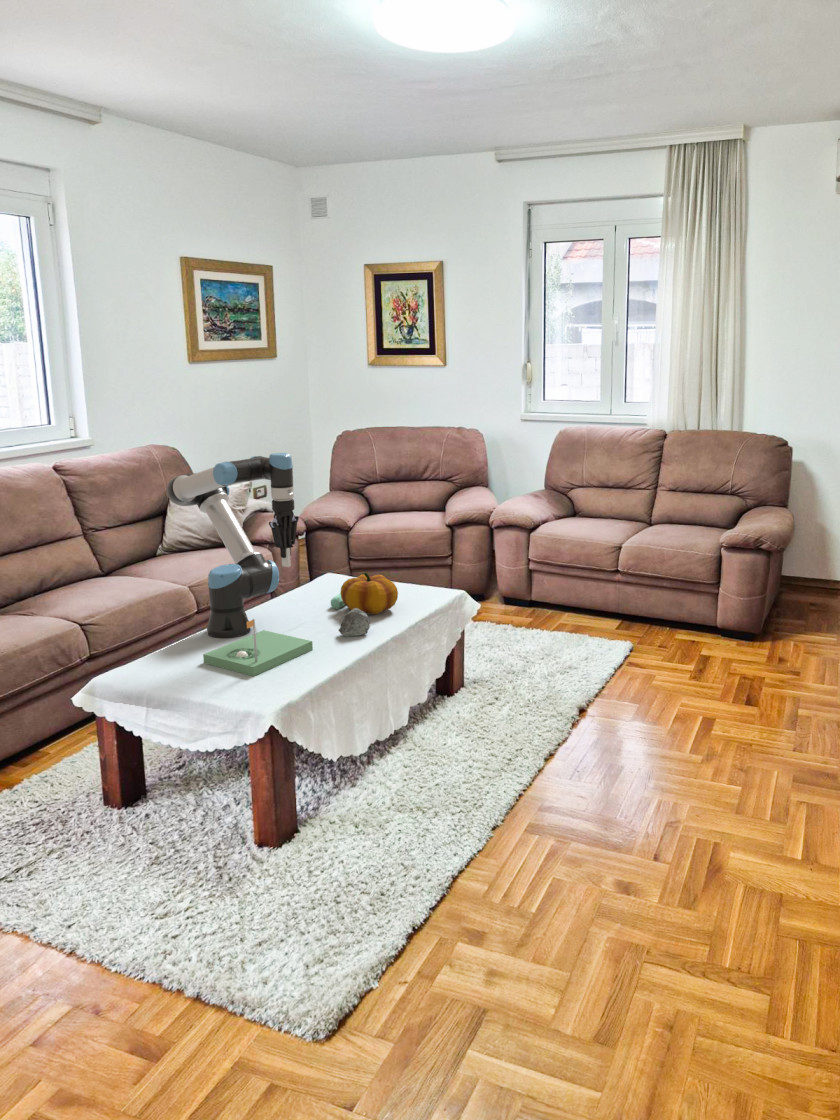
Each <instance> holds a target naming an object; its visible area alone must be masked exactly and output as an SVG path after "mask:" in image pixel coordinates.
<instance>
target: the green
mask: <svg viewBox="0 0 840 1120" xmlns="http://www.w3.org/2000/svg"><path fill="white" fill-rule="evenodd" d="M248 628H250V629H251V628H253V629H252V633H253V634H251V635H248V636H245V637H243V638H241V639H237V640H236V641H235V640H234V641H233V642H231V643H227V644H225V645H223V646H221V647H218V648H216V649H214V650H213V649H212V650H210V651H208V652H205V653H203V654H202V655H203V656H202V658H203V664H207V665H209V666H214V667H218V668H222V669H225V670H229V671H233V672H238V673H240V674H244V675H247V676H253V677H255V676H257V675H259V674H262V673H264V672H266V671H269V670H271V669H273V668H275V667H277V666H279V665H283V664H284V663H286V662H289V661H291V660H293V659H295V658H298V657H300V656H302V655H304V654H306V653H308V652H311V651H313V648H314V647H313V640H309V639H305V638H301V637H300V638H299V637H296V636H292V635H287V634H281V633H278V632H273V631H269V630H265V629H263V630H260V631H258V632H256V619H255V618H252V619H251V620H248V622H247V629H248ZM239 651H245V652H246V653H247V654H248V656H246V657H237V656H236V654H237V653H238V652H239Z"/></svg>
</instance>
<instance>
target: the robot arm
mask: <svg viewBox="0 0 840 1120" xmlns="http://www.w3.org/2000/svg"><path fill="white" fill-rule="evenodd" d="M293 467H294V464H293V460H292V455H291V453H288V452H275V453H274V452H273V453H271V454H269V457H265V456H261V455H257V456H256V455H254V456H251V457H250V458H245V459H241V460H240V459H239V460H230V461H223V462H219V463H216V464H215V466H213V467H209V468H207V469H205V470H201V471H199V472H194V473H187V474H181V475H180V474H179V475H176V476H174V477H172V478H171V479H170V480H169V481H168V483H167V485H166V494H167V497H168V499H169V500H170V502H171V503H174V505H177V506H180V507H191V506H197V507H198V509H199V511H200V512H201V513H204V514H207V516H208V518H209V520H210V522H211V524H212V525H213V527H214V528H215V530H216V532H217V534H218V536H219V538H220V540H221V541H222V542H223V544H224V546H225V548H226V550H227V551H228V553H229V555H230V557H231V558H232V561H233V562H234V563H228V564H222V565H219V566H216V567H213V568H212V569H211V570H210V571H209V572H208V576H207V577H208V578H207V586H208V595H209V596H208V597H209V606H210V607H209V608H210V613H209V616H208V617H209V618H208V623H207V625H206V633H207V636H209V637H211V638H219V639H231V638H237V637H241V636H245V635H246V634H248V633H250V631H251V627H250V628H248V629H247V622H248V621H249V619H248V618H249V617H248V614H247V613H246V611H245V604H244V603H245V601H244V600H247V599H251V598H254V597H258V596H264V595H267V594H269V593H273V592H274V591H275V590H276V589H277V587H278V586H279V582H280V573H279V572H280V571H279V567H278V566H277V563H276V562H275V561H274V560H270V559H267V560H266V558H265V556H264V555H263V553H261V552H258V551H256V550H255V548H254V546H253V544H252V543H251V541H250V539H249V537H248V536H247V533H246V532H245V531H244V529H243V527H242V525H241V524H240V522H239V520H238V518H237V516H236V515H235V513H234V512H233V509H232V508H231V506H230V505H229V503H228V502H229V498H230V497H229V495H230V487H229V486H232V485H236V484H239V483H240V484H241V483H247V482H252V481H253V482H254V481H260V480H266V481H270V493H271V494H270V495H271V499H272V500H271V510H272V511H273V512H274V513H273V520H272V521H269V522H268V525H269V527H270V529H271V533H272V537H273V542H274V546H275V548H277V549H280V550H279V551H280V552H279V553H280V559H281V567H283V568H284V567H286V568H290V567H292V565H291V564H292V563H291V559H292V558H291V557H292V548H293V547H294V545H296V536H297V526H298V523H299V520H300V518H299V516H298V515H295V514H294V510H295V500H294V498H295V496H294V474H293V473H294V472H293Z"/></svg>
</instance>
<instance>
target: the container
mask: <svg viewBox="0 0 840 1120" xmlns="http://www.w3.org/2000/svg"><path fill="white" fill-rule="evenodd" d="M330 606H331V608H333V609H336V610H339V609H341V608H343V607H344V606H346V605H345V604H344V602H343V600H342V598H341V593H340V592H339V593H338V594H336V595H335V596H334V597H332V598H331V599H330Z"/></svg>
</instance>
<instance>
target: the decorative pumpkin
mask: <svg viewBox="0 0 840 1120" xmlns="http://www.w3.org/2000/svg"><path fill="white" fill-rule="evenodd" d="M340 593H341V598H342V600H343V602H344V604H345V605H344V606H346V607H347V608H348V609H349V610H350V611H351V610H353V609H354V608H358V609H360V610H361V611H363V612H365V613H366V614H367V615H368V614H370V615H378V614H380V613H382V612H384V611H387V610H390V609H391V608H393V607H394V606H395V604H396V602H397V601H398V596H399V592H398V588H397V586H396V584H395V583H394V582H393V581H392V580H390V579H388V578H386V577H385V576H384V575H382V574H375V575H372V576H371V575H369V574H368V573H367V572H366V571H365V572H364V573H363V574H360V575H359V576H357V577H352V578H348V579H347V580H346V581H344V582H343V584H342V585H341V587H340V592H339V594H340Z"/></svg>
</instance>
